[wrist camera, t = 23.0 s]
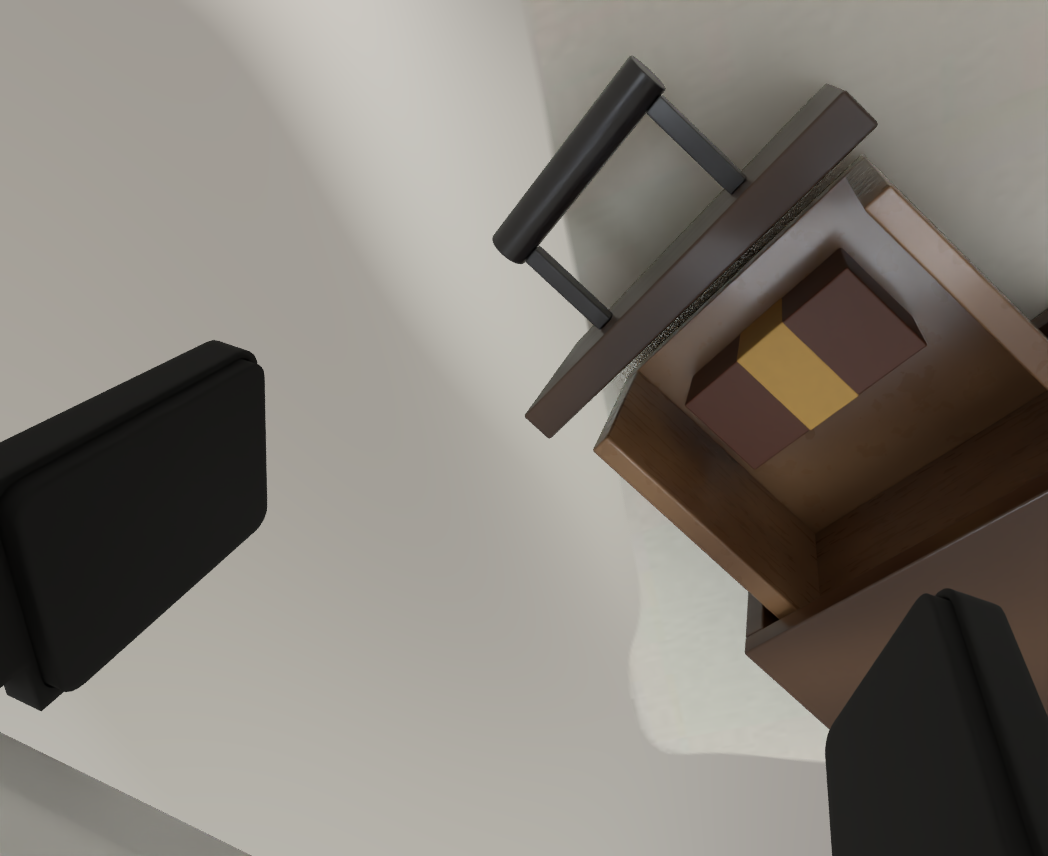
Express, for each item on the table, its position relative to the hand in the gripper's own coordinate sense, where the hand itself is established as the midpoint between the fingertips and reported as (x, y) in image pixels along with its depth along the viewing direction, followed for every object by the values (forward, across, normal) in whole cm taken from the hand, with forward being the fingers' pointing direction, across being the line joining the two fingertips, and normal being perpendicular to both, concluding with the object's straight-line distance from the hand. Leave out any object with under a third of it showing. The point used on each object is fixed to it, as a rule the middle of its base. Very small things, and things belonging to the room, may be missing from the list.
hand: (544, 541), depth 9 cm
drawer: (+19, -3, +2) cm, 20 cm away
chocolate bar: (+18, -5, +3) cm, 19 cm away
